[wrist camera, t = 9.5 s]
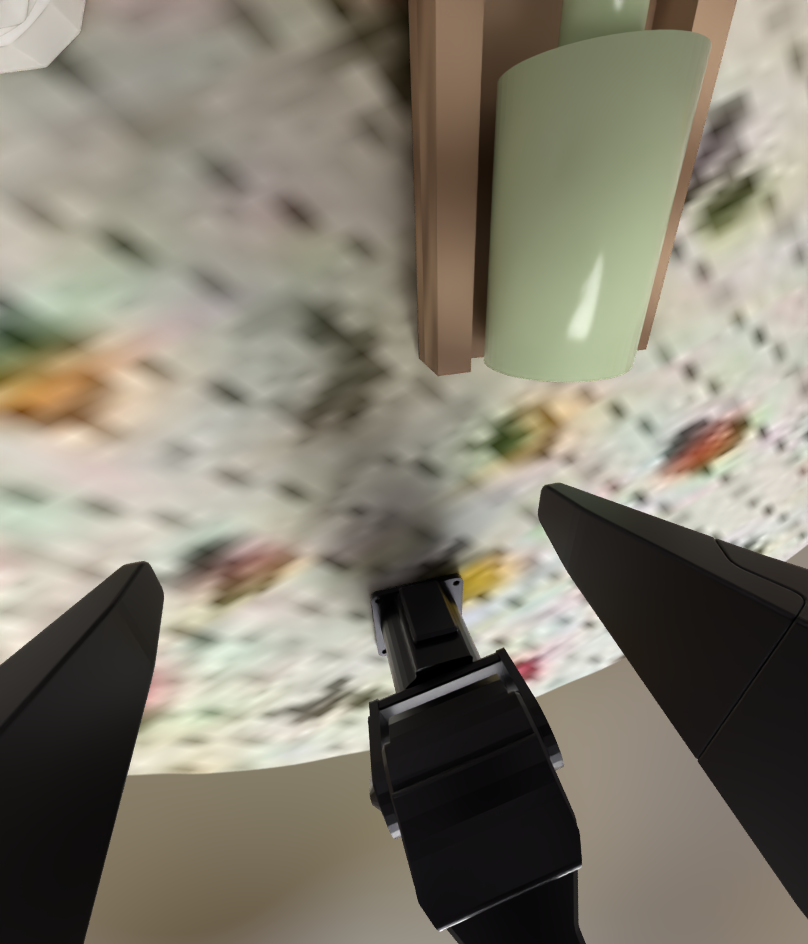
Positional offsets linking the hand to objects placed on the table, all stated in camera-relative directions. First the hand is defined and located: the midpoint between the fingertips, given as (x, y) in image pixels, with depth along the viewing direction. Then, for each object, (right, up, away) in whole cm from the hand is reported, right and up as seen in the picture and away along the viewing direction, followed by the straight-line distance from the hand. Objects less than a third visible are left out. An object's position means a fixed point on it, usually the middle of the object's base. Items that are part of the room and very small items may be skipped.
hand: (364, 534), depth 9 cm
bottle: (+7, +13, +7) cm, 17 cm away
